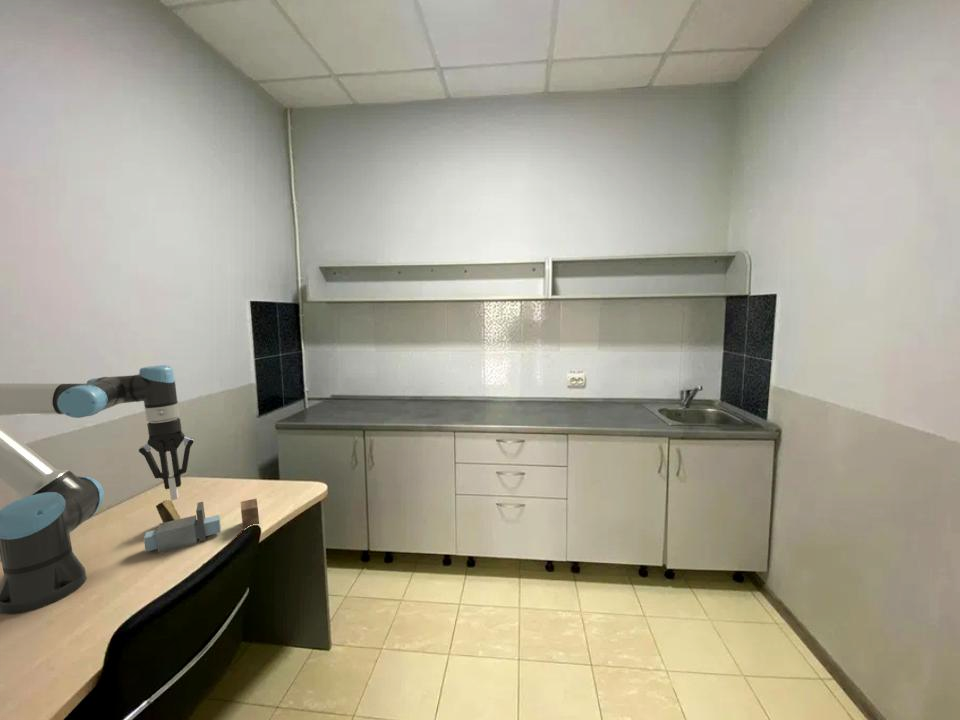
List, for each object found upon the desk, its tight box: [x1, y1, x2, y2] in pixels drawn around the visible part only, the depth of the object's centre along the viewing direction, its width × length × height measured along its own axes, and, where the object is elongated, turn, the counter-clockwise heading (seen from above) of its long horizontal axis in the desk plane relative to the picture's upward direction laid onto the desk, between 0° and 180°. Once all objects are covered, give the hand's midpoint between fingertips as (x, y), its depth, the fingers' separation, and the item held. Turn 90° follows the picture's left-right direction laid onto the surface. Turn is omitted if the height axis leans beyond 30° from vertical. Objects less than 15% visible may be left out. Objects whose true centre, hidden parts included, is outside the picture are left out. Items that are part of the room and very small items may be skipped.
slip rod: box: [143, 501, 222, 552], centre depth 123 cm, size 18×6×10 cm, turn 121°
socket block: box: [240, 497, 260, 531], centre depth 132 cm, size 4×7×7 cm, turn 31°
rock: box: [155, 499, 181, 523], centre depth 133 cm, size 11×9×10 cm
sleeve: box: [156, 514, 199, 555], centre depth 122 cm, size 9×6×6 cm
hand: (174, 498), depth 121 cm, fingers closed
